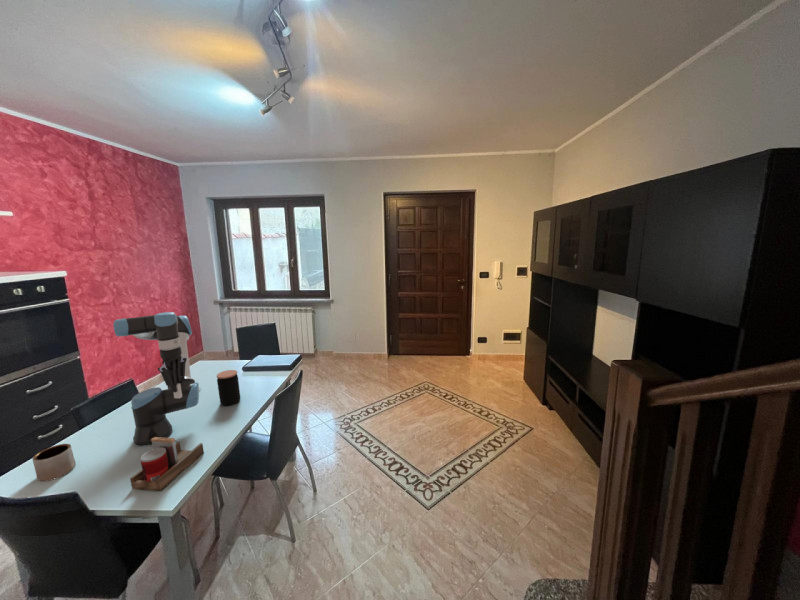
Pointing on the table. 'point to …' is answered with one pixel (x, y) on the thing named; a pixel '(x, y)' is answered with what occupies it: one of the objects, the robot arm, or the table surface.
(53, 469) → the planter
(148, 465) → the canned food
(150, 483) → the tray
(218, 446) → the table surface
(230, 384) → the coffee jar
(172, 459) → the pusher
